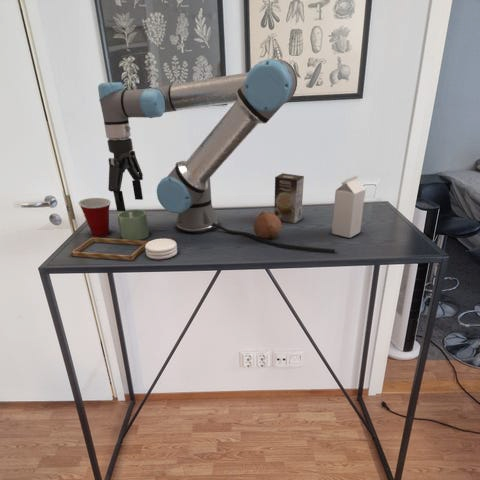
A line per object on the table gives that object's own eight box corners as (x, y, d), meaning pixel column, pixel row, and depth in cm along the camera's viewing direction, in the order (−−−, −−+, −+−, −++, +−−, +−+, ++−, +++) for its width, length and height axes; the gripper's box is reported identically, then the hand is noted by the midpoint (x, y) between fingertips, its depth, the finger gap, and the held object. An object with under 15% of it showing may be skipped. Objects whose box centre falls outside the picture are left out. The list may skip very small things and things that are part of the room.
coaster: (179, 257, 133) (178, 247, 131) (148, 262, 130) (146, 251, 128) (174, 246, 141) (173, 236, 139) (144, 250, 138) (143, 240, 137)
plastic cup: (108, 240, 147) (101, 206, 141) (80, 238, 149) (72, 205, 143) (121, 229, 156) (115, 197, 150) (95, 228, 158) (88, 196, 152)
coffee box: (273, 219, 161) (273, 176, 152) (280, 215, 165) (281, 172, 157) (294, 223, 156) (296, 179, 148) (302, 218, 161) (304, 175, 153)
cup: (153, 231, 153) (150, 210, 149) (142, 241, 145) (138, 218, 141) (129, 230, 155) (125, 209, 151) (116, 239, 148) (112, 217, 143)
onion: (258, 244, 148) (249, 216, 146) (284, 235, 147) (275, 207, 146) (258, 244, 139) (249, 214, 137) (286, 235, 138) (277, 205, 136)
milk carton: (360, 232, 146) (367, 176, 136) (349, 238, 142) (356, 181, 132) (342, 228, 151) (347, 173, 141) (331, 234, 146) (336, 177, 136)
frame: (149, 244, 143) (148, 241, 142) (131, 260, 132) (131, 256, 131) (93, 241, 147) (92, 237, 146) (71, 256, 136) (70, 252, 135)
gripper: (110, 145, 122) (123, 216, 133) (146, 132, 143) (155, 195, 154) (87, 145, 124) (102, 215, 135) (126, 132, 144) (136, 194, 156)
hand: (130, 205), depth 145 cm, fingers open, 13 cm apart
